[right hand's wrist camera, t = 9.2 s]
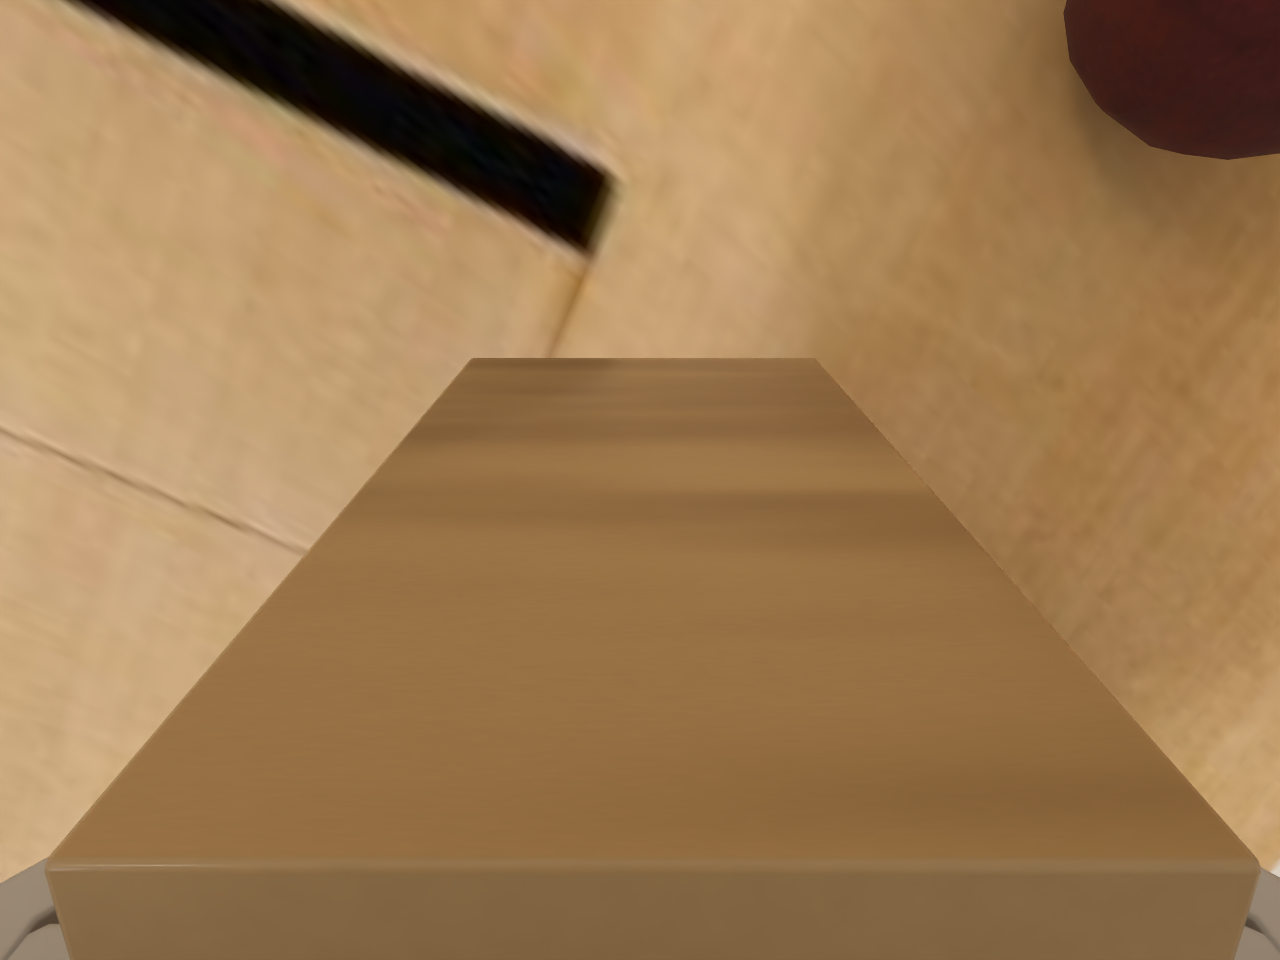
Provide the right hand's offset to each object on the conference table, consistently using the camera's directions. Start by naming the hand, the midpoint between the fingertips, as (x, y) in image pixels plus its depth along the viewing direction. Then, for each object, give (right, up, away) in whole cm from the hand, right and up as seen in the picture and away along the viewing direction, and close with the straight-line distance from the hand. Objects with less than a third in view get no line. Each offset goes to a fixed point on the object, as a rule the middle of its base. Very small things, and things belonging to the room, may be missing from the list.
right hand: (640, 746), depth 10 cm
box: (0, -5, +9) cm, 10 cm away
